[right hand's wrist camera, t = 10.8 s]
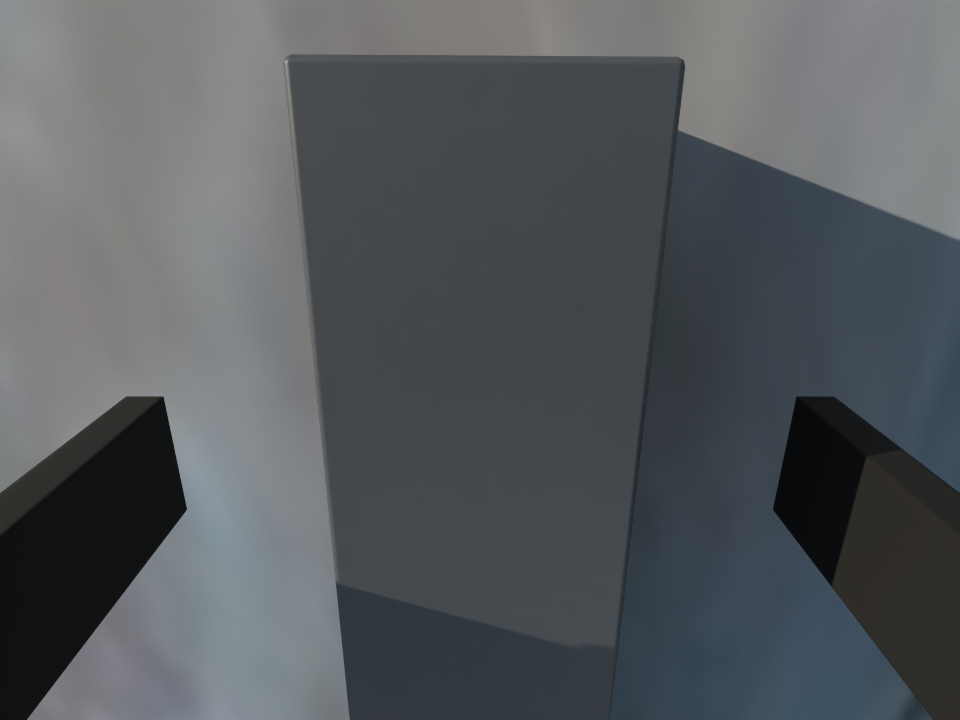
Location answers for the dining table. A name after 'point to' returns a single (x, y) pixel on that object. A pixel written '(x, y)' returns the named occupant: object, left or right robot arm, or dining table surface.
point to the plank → (482, 363)
